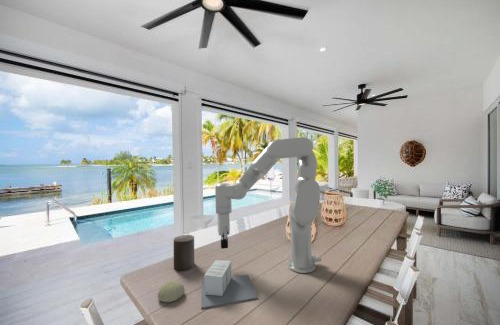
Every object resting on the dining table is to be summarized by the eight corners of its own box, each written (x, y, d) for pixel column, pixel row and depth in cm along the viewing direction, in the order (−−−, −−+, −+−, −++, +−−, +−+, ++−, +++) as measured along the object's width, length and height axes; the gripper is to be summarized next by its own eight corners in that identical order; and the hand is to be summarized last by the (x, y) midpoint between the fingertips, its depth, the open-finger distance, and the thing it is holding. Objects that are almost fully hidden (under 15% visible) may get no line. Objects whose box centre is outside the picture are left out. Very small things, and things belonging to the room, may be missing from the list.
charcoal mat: (248, 275, 90) (248, 274, 90) (258, 298, 75) (258, 297, 75) (201, 282, 86) (201, 281, 86) (201, 309, 70) (201, 307, 70)
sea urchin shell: (160, 285, 82) (174, 270, 82) (175, 298, 82) (189, 283, 83) (151, 300, 73) (167, 283, 73) (168, 315, 73) (184, 297, 74)
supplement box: (232, 277, 88) (222, 297, 76) (215, 276, 89) (203, 295, 77) (231, 260, 88) (222, 277, 75) (215, 259, 89) (203, 275, 77)
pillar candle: (176, 273, 94) (176, 240, 94) (171, 264, 102) (171, 234, 102) (197, 267, 99) (197, 236, 99) (191, 259, 107) (191, 230, 107)
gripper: (214, 206, 105) (215, 242, 105) (217, 213, 91) (217, 255, 91) (229, 205, 107) (230, 241, 107) (233, 212, 93) (234, 253, 92)
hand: (224, 247), depth 99 cm, fingers closed
